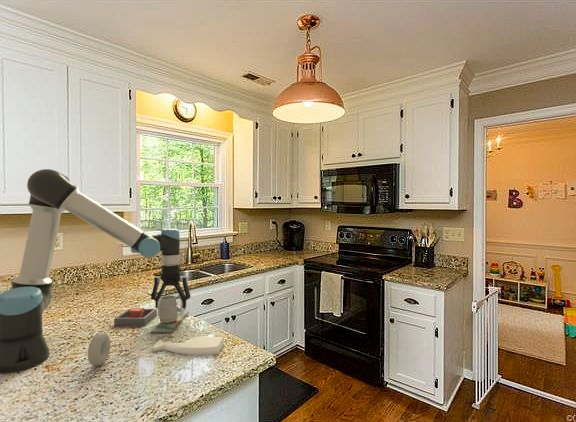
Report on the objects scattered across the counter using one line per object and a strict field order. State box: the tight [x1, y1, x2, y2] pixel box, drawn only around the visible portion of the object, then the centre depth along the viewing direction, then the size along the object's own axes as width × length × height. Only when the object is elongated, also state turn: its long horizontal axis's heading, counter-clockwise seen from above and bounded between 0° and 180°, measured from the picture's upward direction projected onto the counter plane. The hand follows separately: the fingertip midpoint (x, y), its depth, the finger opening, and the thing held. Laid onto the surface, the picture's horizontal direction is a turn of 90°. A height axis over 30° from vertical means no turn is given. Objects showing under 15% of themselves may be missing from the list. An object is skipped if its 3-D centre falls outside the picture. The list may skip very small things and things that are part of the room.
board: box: [149, 311, 190, 334], centre depth 141 cm, size 24×8×1 cm, turn 1°
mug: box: [158, 294, 187, 323], centre depth 141 cm, size 8×12×12 cm, turn 131°
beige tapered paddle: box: [151, 336, 224, 356], centre depth 115 cm, size 3×11×24 cm
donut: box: [87, 332, 111, 367], centre depth 103 cm, size 10×3×10 cm, turn 4°
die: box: [129, 307, 145, 318], centre depth 143 cm, size 5×5×5 cm
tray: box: [113, 308, 158, 327], centre depth 143 cm, size 13×13×3 cm
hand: (171, 315), depth 141 cm, fingers open, 9 cm apart
